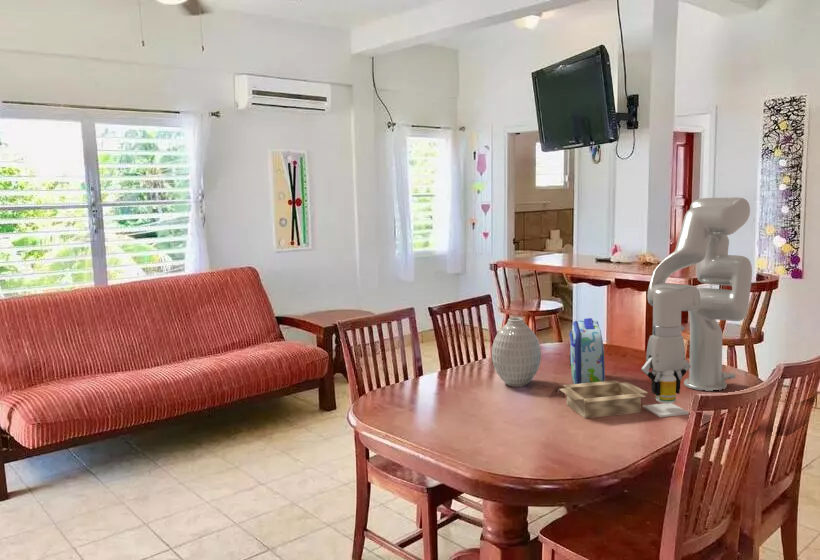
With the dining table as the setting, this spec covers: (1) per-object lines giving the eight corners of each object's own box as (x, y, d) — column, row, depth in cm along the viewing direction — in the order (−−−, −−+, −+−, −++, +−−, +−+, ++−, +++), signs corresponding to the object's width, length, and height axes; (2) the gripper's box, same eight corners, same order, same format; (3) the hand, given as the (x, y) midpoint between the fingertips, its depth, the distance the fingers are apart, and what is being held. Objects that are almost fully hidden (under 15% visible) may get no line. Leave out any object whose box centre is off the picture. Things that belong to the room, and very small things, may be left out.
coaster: (670, 404, 199) (671, 402, 199) (689, 414, 190) (689, 412, 190) (643, 407, 197) (643, 405, 197) (660, 417, 188) (660, 415, 188)
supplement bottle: (651, 399, 195) (652, 367, 194) (666, 397, 197) (667, 365, 195) (664, 404, 190) (665, 371, 188) (679, 402, 192) (680, 369, 190)
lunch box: (569, 372, 237) (568, 314, 234) (600, 373, 235) (600, 314, 232) (571, 395, 212) (571, 329, 209) (607, 396, 209) (607, 330, 207)
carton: (622, 396, 208) (623, 379, 207) (653, 414, 191) (653, 395, 190) (555, 403, 204) (555, 385, 203) (580, 422, 187) (580, 402, 186)
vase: (486, 388, 222) (485, 322, 219) (499, 375, 236) (498, 313, 234) (535, 392, 215) (534, 324, 213) (545, 378, 230) (544, 315, 227)
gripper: (686, 326, 196) (685, 387, 198) (632, 330, 193) (631, 392, 195) (702, 331, 189) (700, 394, 191) (646, 336, 185) (645, 399, 188)
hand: (665, 392), depth 193 cm, fingers closed on supplement bottle, 5 cm apart
